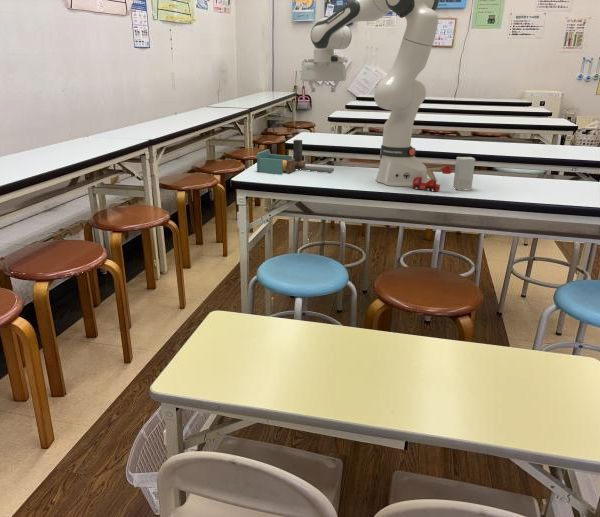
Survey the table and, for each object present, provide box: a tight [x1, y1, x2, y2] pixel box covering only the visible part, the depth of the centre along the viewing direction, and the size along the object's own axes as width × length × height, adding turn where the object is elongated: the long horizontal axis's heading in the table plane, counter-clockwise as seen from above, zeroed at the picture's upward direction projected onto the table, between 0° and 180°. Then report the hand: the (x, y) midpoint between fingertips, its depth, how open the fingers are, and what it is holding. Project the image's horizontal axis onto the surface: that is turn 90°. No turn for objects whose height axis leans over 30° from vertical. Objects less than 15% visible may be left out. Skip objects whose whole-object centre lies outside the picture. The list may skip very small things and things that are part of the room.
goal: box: [256, 148, 293, 175], centre depth 219 cm, size 12×11×8 cm
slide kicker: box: [286, 139, 306, 174], centre depth 219 cm, size 6×13×12 cm, turn 159°
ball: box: [283, 160, 287, 173], centre depth 218 cm, size 5×5×5 cm
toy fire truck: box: [411, 165, 453, 192], centre depth 190 cm, size 3×14×10 cm, turn 62°
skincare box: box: [452, 156, 476, 190], centre depth 192 cm, size 6×4×12 cm
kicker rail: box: [295, 165, 335, 174], centre depth 222 cm, size 17×5×1 cm, turn 69°
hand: (323, 92), depth 225 cm, fingers open, 8 cm apart
